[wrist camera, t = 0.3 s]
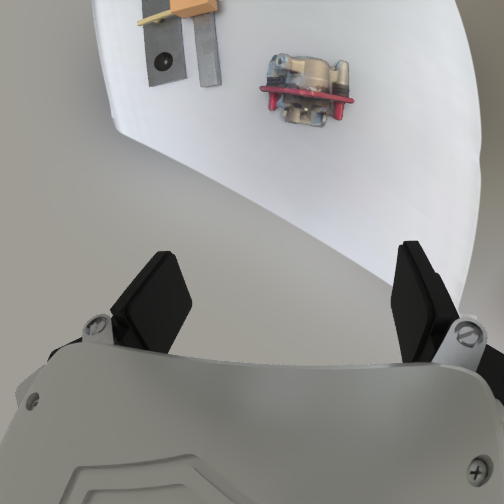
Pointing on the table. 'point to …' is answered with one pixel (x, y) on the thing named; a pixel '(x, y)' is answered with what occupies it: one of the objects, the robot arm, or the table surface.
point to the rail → (207, 49)
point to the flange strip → (163, 45)
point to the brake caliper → (307, 89)
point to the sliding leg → (183, 10)
